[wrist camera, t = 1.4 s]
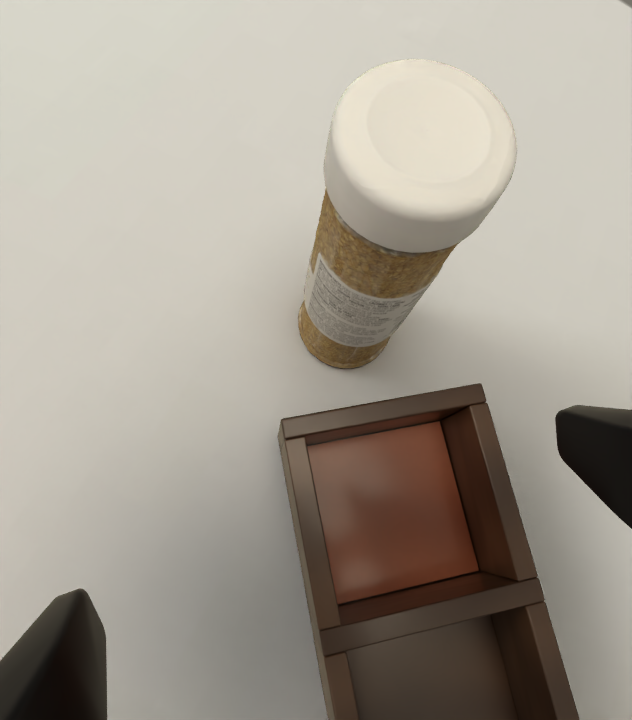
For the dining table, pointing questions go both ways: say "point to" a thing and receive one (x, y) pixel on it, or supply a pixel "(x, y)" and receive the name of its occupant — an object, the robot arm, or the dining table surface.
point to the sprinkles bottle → (398, 199)
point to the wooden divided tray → (419, 564)
